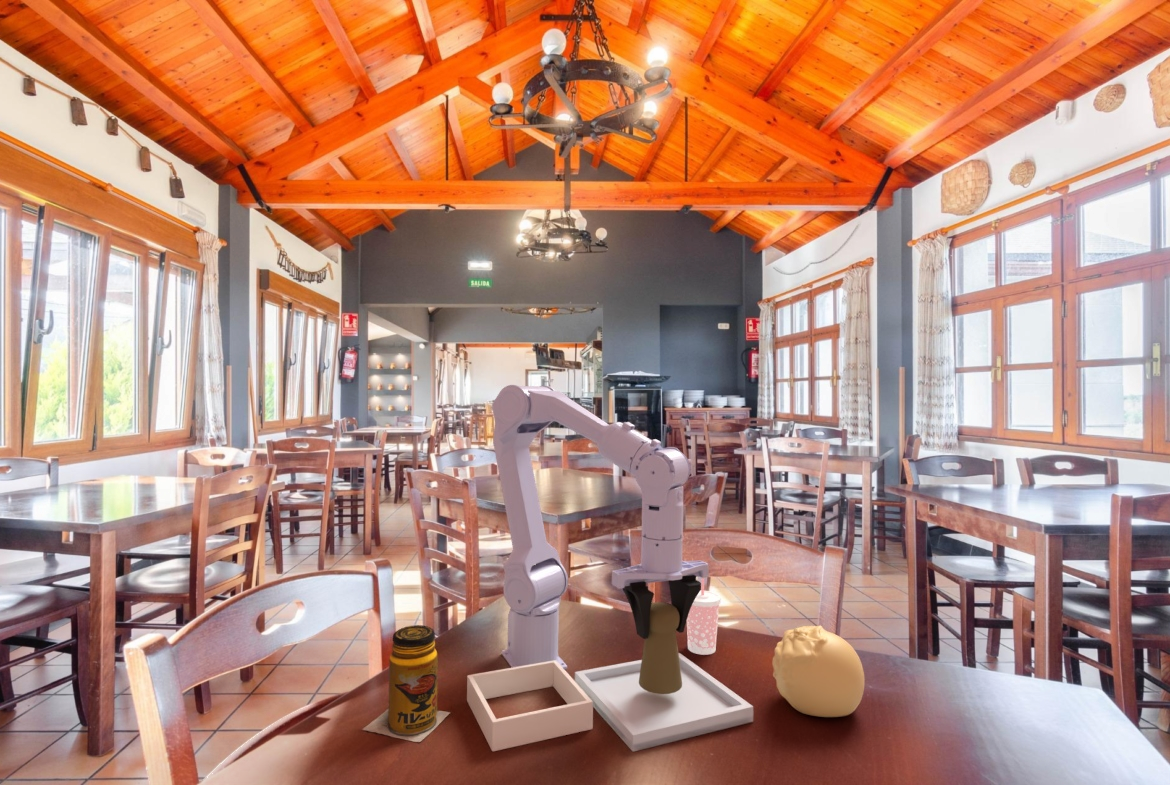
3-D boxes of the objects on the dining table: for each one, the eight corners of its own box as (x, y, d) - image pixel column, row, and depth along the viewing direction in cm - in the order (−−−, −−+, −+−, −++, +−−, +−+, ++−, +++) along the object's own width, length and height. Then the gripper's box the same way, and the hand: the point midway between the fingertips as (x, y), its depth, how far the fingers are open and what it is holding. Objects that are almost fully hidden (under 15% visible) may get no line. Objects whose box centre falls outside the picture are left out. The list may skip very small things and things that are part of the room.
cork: (684, 694, 84) (684, 613, 83) (639, 693, 84) (639, 612, 84) (680, 673, 90) (680, 598, 89) (638, 672, 90) (638, 597, 90)
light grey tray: (574, 685, 91) (574, 672, 91) (679, 665, 99) (679, 652, 99) (632, 751, 75) (633, 735, 75) (753, 721, 82) (753, 706, 82)
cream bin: (466, 700, 86) (467, 675, 86) (555, 683, 92) (555, 660, 92) (492, 751, 74) (492, 722, 74) (592, 728, 80) (593, 701, 80)
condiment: (420, 743, 76) (422, 645, 76) (361, 731, 78) (363, 636, 78) (450, 714, 83) (452, 624, 83) (395, 703, 85) (397, 616, 85)
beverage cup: (712, 659, 101) (713, 573, 101) (677, 650, 104) (678, 567, 104) (725, 647, 106) (726, 565, 106) (691, 638, 109) (692, 559, 109)
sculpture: (773, 680, 94) (774, 609, 94) (860, 695, 90) (861, 620, 90) (769, 718, 83) (770, 637, 83) (867, 736, 79) (869, 652, 79)
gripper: (629, 547, 80) (627, 652, 80) (722, 537, 86) (720, 635, 86) (605, 534, 86) (604, 632, 86) (693, 527, 92) (691, 618, 92)
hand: (660, 633), depth 87 cm, fingers closed on cork, 5 cm apart
